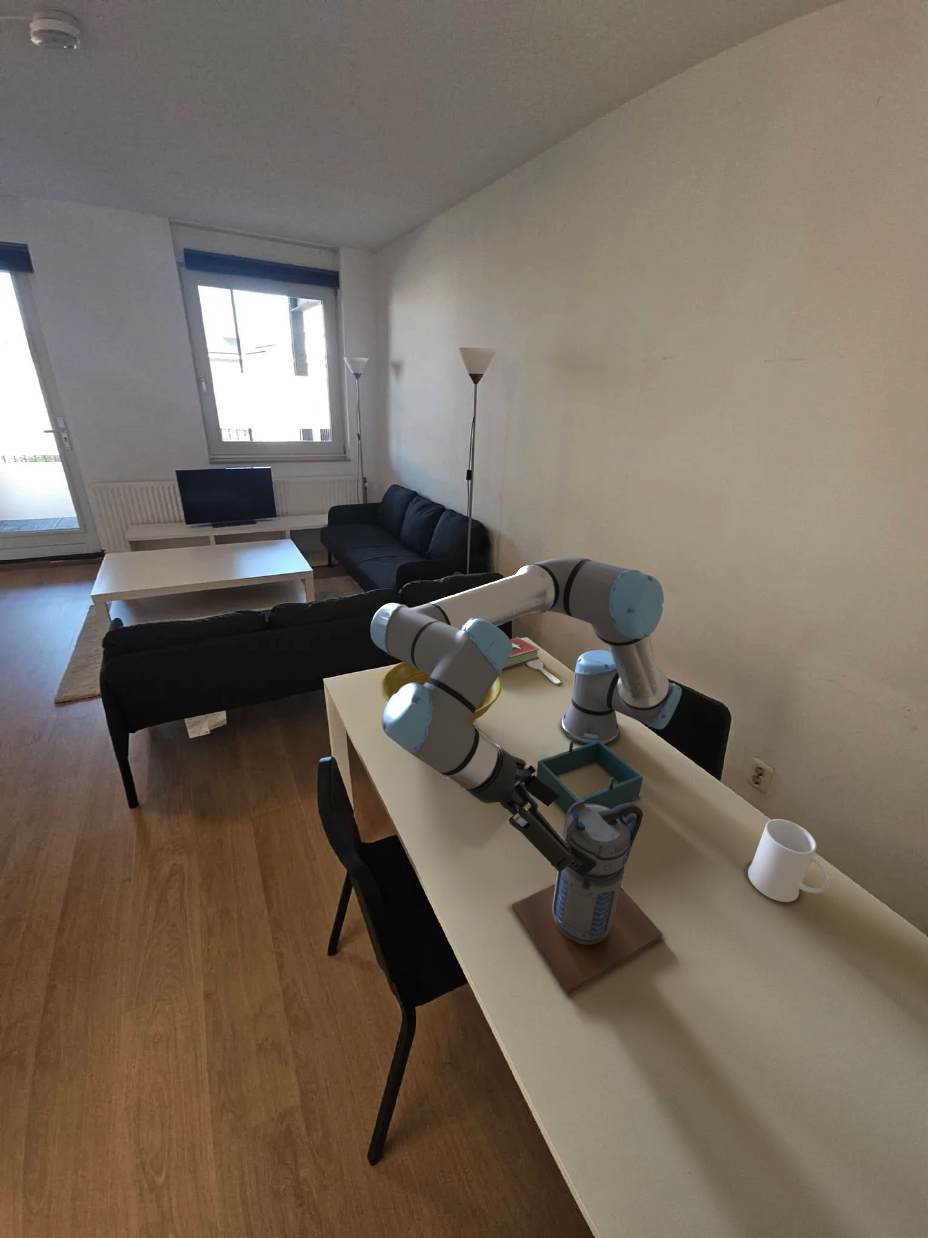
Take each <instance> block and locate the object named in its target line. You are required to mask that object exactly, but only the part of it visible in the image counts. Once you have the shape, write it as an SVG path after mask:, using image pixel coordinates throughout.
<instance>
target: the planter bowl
mask: <svg viewBox="0 0 928 1238" xmlns="http://www.w3.org/2000/svg"><path fill="white" fill-rule="evenodd" d="M430 676H431V675H429V674H427V673H425V672H423V671H421V670H420V669H418V668H416V667H414V666H412V665H410V664H408V663H406V662H404V661H402V662H399V663H397V664H396V665H394V666H393V667H391V668H390V669H389V670H388V671H386V673H385V674H384V675H383V677H382V678H381V681H380V693H381V695H382V697H383V698H384V699H385V701H386V702H387V703H388V701H389V700H390V699H391V697H392V696H393V695H394V694H396V693H397V692H398V691H399V689H400V688H401V687H403V686H404V685H406V684H408V683H413V682H414V683H418V684H420V685H424V684H425V682H426V681H427V680H428V678H429V677H430ZM501 693H502V681H501V678H500V677H499V676H498V677H497V679H496V680H495V682H494V684H493V685H492V687H491V688H490V690H489V691H488V693H487V694H486V696H485V697H484V699H483V700H482V702H481V703H480V705H479V706H478V708H477V709H476V711H475V712H474V714H473V716H472V717H471V719H470V720H469V723H470V724H472V725H473V724H474V723H475V721H476V720H478V719H480V718H481V717H483V716H484V715H485V714H486V713H487V712H488V711H489V710H490V708H491V706H492V704H494V703H495V702H496V701H497V700H498V698H499V697H500V695H501Z"/></svg>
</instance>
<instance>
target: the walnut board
mask: <svg viewBox="0 0 928 1238" xmlns="http://www.w3.org/2000/svg"><path fill="white" fill-rule="evenodd" d="M555 885H556V883H554V884H552V885H549V886H548V887H545V888H544V889H541V890H539V891H537V892H534V893H532V894H530V895H528V896H526V897H524V898H522V899H520V900H518V901H515V902H514V903H512V905H511V909H512V911H513V912H514V914H515V915H516V917H517V918H518V920H519V922H520V923H521V925H522V926H523V928H524V929H525V931H526V933H527V935H528V937H530V939H531V941H532V942H533V943H534V945H535V947H536V948H537V950H538V952H539V953H540V954H541V957H543V959H544V960H545V962H546V963H547V966H548V967H549V969H550V970H551V971H552V973H553V974H554V977H556V979H557V981H558V982H559V984H560V985H561V987H562V989H563V990H564V992H565V993H566V995H567V996H569V995H571V994H573V993H574V992H576V991H577V990H579V989H581V988H583V987H585V986H586V985H588V984H590V983H591V982H593V981H595V980H596V979H598V978H599V977H601V976H603V975H604V974H606V973H608V972H610V971H611V970H613V969H614V968H616V967H617V966H619V965H621V964H622V963H624V962H626V961H628V960H629V959H631V958H633V957H634V956H636V955H638V954H639V953H641V952H642V951H644V950H646V949H648V948H649V947H651V946H652V945H655V944H656V943H657V942H659V941H661V940H662V939H663V936H664V934H663V933H662V931H661V930H660V929H659V928H658V927H657V926H656V924H655V923H654V922H653V921H652V920H651V919H650V918H649V917H648V916H647V915H646V913H645V912H644V911H643V910H642V908H640V906H638V904H637V903H636V902H635V901H634V900H633V898H631V897H630V895H629V894H628V893H627V892H626V891H625V890H624V889H623V888H622V890H621V889H620V893H619V898H618V902H617V907H616V911H615V916H614V921H613V925H612V929H611V932H610V934H609V935H608V936H607V937H606V938H605V939H604V940H602V941H600V942H598V943H595V944H591V945H584V944H579V943H577V942H575V941H574V940H571V939H569V938H568V937H566V936H565V935H564V934H563V933H562V932H561V930H560V929H559V928H558V926H557V924H556V923H555V920H554V918H553V913H552V906H553V899H554V892H555Z"/></svg>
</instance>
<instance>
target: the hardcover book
mask: <svg viewBox="0 0 928 1238" xmlns="http://www.w3.org/2000/svg"><path fill="white" fill-rule="evenodd" d="M509 640H510V641H511V642H512V646H513V650H512V653H511V655H510V657H509V658H508V660H507V662H506V664H505V666H504V668H503V669H502V671H504V670H507V669H510V668H514V667H517V666H520V665H523V664H526V662H528V661H532V660H535V659H537V660H539V659H540V658H539V657H538V651H539V650H540V648H538V647H537V646H535V645H534V644H532V643H530V642H528V641H526V640H525V639H523V638H520V637H519V636H517V637H514V638H511V639H510V638H509Z"/></svg>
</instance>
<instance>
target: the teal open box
mask: <svg viewBox="0 0 928 1238" xmlns="http://www.w3.org/2000/svg"><path fill="white" fill-rule="evenodd" d="M595 763H596V764H597V765H598V766H599V767H601V769H603V770H604V771H605V772H606V773H607V774H608V775H609V776H611V777H610V780H609V786H608V787H606V788H604V789H601V790H599V791H596V792H594V793H592V794H589V795H586V796H584V797H581V798H578V797H577V796H576V795H575V794H574V792H572V791H571V790H570V788H568V786H567V785H565V783H563V781H561V779H560V778H558V777H559V776H562V775H565V774H567V773H570V772H573V771H575V770H578V769H581V768H583V767H586V766H589V765H592V764H595ZM535 776H537V777H538V778H539V779H540V780H542V781H543V782H544V783H546V784H547V785H548V786H549V787H551V788H552V789H553V790H555V791H556V792H557V793H558V794H559V796H560V797H559V798H558V799H557V800H555V801H554V802H553V803H554V804H556V805H557V806H558V808H559V809H560V810H561V811H562V812H563V813H564V814H565V816H566V815H567V812H568V810H569V808H570V807H571V806H572V805H573V804H574V803H576V802H578V801H581V800H585V802H584V804H597V805H601V806H605V807H607V808H610V809H613V808H615V807H616V806H618V805H621V804H625V803H630V802H631V801H634V800H637V799H639V798H640V794H641V790H642V785H643V781H644V776H643V775H642V774H640V773H639V772H638V771H637V770H635V769H634V767H632V766H631V765H630V764H629V763H627V762H626V761H625V760H623V759H622V758H621V757H620V756H619V755H617V754H616V753H615V752H614V751H613V750H612V749H610V748H609V747H608V745H607V746H605V745H604V744H603V743H602V742H601V741H596V742H593V743H590V744H587V745H580V746H579V747H576V748H574V741H573V740H571V741H570V742H569V747H568V750H567V751H563V752H560V753H557V754H555V755H552V756H549V757H546V758H543V759H540V760H537V767H536V774H535ZM615 781H616V782H617V784H615Z"/></svg>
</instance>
